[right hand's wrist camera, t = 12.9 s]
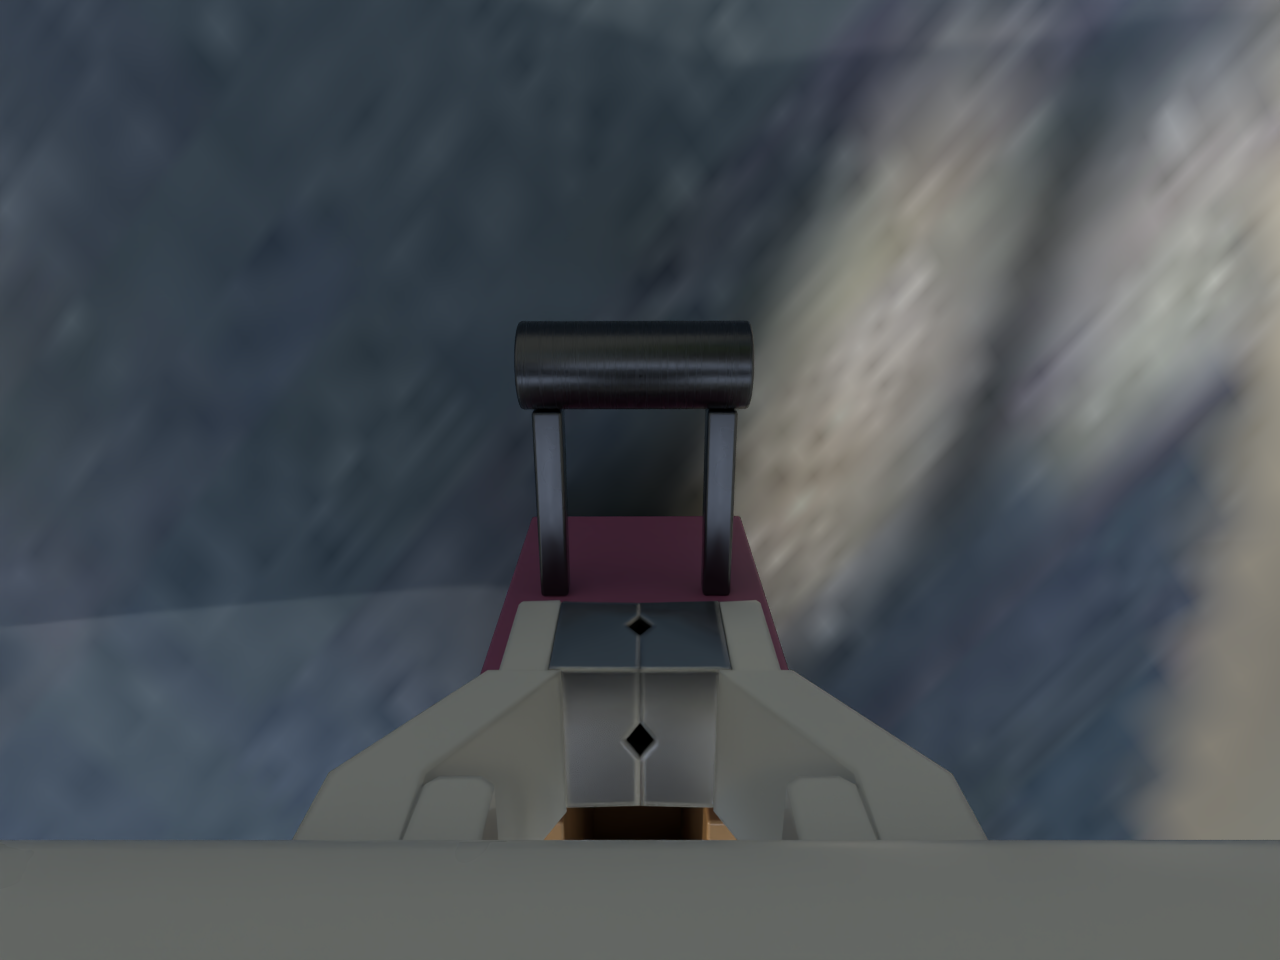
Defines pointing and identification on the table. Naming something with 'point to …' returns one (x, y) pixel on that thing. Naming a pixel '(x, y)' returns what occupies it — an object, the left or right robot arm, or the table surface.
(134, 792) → the table surface
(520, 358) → the drawer
